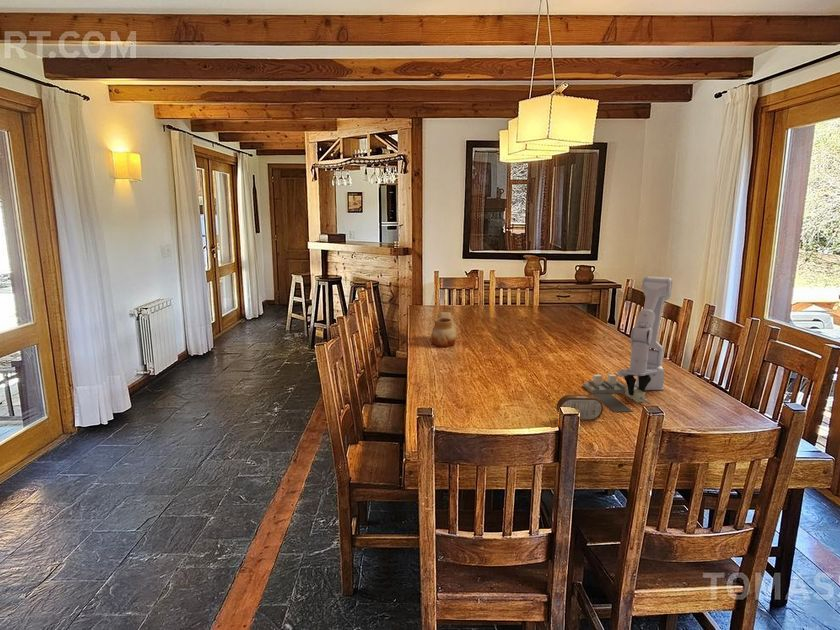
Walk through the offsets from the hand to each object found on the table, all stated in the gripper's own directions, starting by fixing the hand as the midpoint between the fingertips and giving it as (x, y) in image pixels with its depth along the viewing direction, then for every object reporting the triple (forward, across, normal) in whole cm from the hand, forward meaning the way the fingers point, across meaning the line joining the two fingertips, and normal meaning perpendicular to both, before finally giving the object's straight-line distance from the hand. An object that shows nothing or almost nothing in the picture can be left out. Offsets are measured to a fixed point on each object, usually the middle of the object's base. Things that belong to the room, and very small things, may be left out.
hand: (635, 394), depth 192 cm
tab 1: (0, -10, +12) cm, 16 cm away
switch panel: (+2, -6, +10) cm, 12 cm away
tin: (+2, -29, -19) cm, 35 cm away
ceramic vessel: (+2, -60, +90) cm, 108 cm away
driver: (+2, 0, -2) cm, 3 cm away
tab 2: (0, -4, +12) cm, 13 cm away
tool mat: (+2, -11, -4) cm, 12 cm away
